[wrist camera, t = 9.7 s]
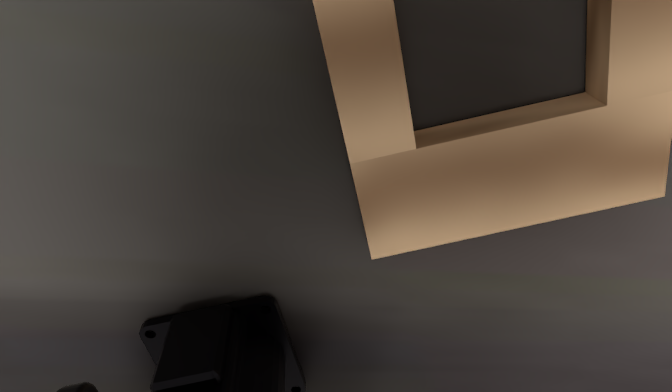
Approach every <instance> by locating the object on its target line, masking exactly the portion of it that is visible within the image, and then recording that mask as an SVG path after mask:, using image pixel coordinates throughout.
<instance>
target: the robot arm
mask: <svg viewBox="0 0 672 392" xmlns="http://www.w3.org/2000/svg"><path fill="white" fill-rule="evenodd" d="M262 306H269V308H263V307H262ZM148 330H152V331H154V332H150V331H148ZM139 335H140V337H141V339H142V341H143V343H144V345H145V346H146V348H147V350H148V352H149V353H150V355H151V357H152V359H153V361H154V362H155V364H156V369H155V372H154V375H153V379H152V382H151V385H150V389H151V392H305V391H306V382H305V379H304V376H303V373H302V371H301V368H300V365H299V362H298V359H297V357H296V354H295V351H294V348H293V346H292V343H291V340H290V337H289V335H288V332H287V329H286V326H285V324H284V321H283V318H282V315H281V313H280V310H279V307H278V304H277V302H276V300H275V299H274V298H273V297H271V296H260V297H255V298H251V299H246V300H241V301H237V302H232V303H227V304H223V305H218V306H213V307H209V308H204V309H199V310H195V311H190V312H185V313H181V314H176V315H171V316H167V317H162V318H157V319H153V320H148V321H146V322H144V323H143V324H142V327H141V329H140V332H139ZM294 386H298V387H294ZM57 392H98V390H97V389H96V387H95V386H94V385H93V384H91V383H89V382H83V383H78V384H74V385H69V386H65V387H63V388H61V389H59V390H58V391H57Z"/></svg>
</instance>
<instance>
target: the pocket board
mask: <svg viewBox="0 0 672 392" xmlns="http://www.w3.org/2000/svg"><path fill="white" fill-rule="evenodd" d="M313 5H314V9H315V13H316V18H317V22H318V26H319V31H320V35H321V40H322V44H323V48H324V53H325V57H326V61H327V66H328V70H329V74H330V79H331V83H332V88H333V92H334V96H335V101H336V105H337V109H338V114H339V118H340V123H341V127H342V131H343V136H344V140H345V144H346V149H347V153H348V157H349V162H350V166H351V171H352V175H353V179H354V184H355V188H356V192H357V197H358V201H359V205H360V210H361V214H362V219H363V223H364V227H365V232H366V236H367V240H368V245H369V249H370V253H371V258H372V260H373V259H377V258H382V257H386V256H391V255H396V254H400V253H405V252H410V251H414V250H419V249H423V248H428V247H433V246H437V245H442V244H447V243H451V242H456V241H460V240H465V239H470V238H474V237H479V236H484V235H488V234H493V233H497V232H502V231H507V230H511V229H516V228H521V227H525V226H530V225H534V224H539V223H544V222H548V221H553V220H558V219H562V218H567V217H571V216H576V215H581V214H585V213H590V212H595V211H599V210H604V209H608V208H613V207H618V206H622V205H627V204H632V203H636V202H641V201H645V200H650V199H655V198H659V197H664V196H665V189H666V180H667V171H668V163H669V154H670V145H671V137H672V0H588V1H587V43H586V84H585V92H584V93H579V94H575V95H571V96H566V97H562V98H558V99H553V100H549V101H544V102H540V103H536V104H531V105H527V106H522V107H518V108H514V109H509V110H505V111H501V112H496V113H492V114H487V115H483V116H479V117H474V118H470V119H465V120H461V121H457V122H452V123H448V124H444V125H439V126H435V127H430V128H426V129H422V130H417V131H414V130H413V124H412V117H411V111H410V104H409V98H408V92H407V85H406V79H405V72H404V66H403V59H402V53H401V46H400V40H399V33H398V27H397V20H396V14H395V7H394V1H393V0H313Z"/></svg>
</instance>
